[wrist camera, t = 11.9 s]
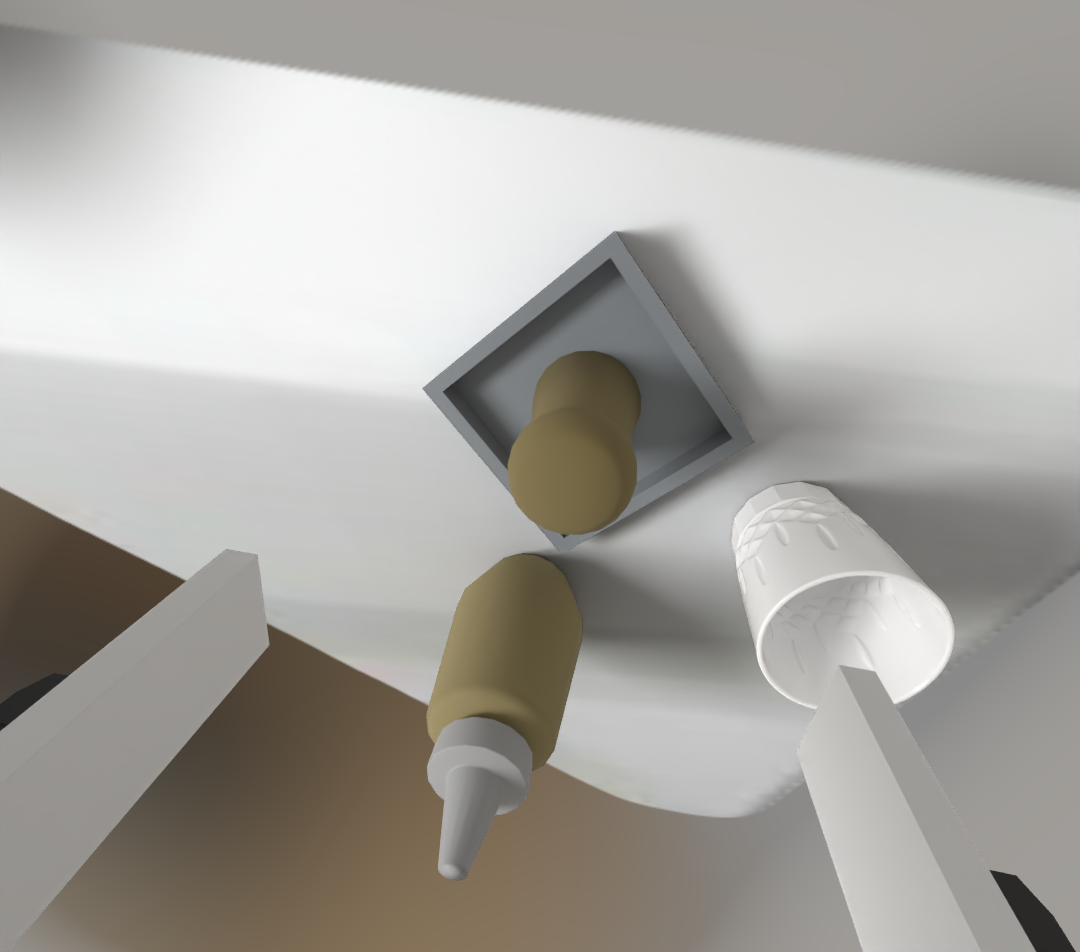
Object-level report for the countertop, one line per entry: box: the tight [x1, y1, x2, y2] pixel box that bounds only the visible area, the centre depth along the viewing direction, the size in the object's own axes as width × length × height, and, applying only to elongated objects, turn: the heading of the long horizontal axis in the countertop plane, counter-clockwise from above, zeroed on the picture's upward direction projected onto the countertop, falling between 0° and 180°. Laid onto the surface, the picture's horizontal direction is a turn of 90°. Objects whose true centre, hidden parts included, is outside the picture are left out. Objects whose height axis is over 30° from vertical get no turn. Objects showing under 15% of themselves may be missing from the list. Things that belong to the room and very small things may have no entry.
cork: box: [508, 351, 641, 535], centre depth 25 cm, size 6×6×11 cm
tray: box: [422, 231, 754, 554], centre depth 29 cm, size 13×13×2 cm
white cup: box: [731, 482, 955, 710], centre depth 28 cm, size 8×8×10 cm
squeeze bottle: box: [426, 554, 583, 881], centre depth 29 cm, size 8×8×18 cm
